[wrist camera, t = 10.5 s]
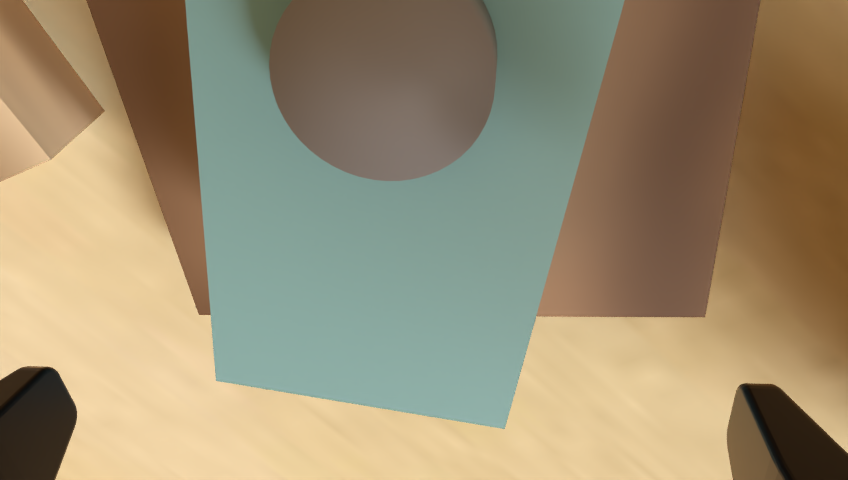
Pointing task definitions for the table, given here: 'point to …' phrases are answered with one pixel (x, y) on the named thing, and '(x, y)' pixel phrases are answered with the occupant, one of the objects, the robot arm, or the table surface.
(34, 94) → the pine offcut
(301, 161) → the teal housing
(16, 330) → the table surface
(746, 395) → the robot arm
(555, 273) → the walnut stand
